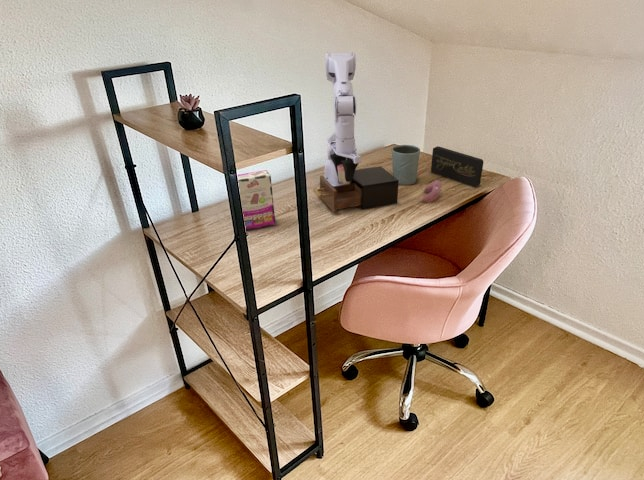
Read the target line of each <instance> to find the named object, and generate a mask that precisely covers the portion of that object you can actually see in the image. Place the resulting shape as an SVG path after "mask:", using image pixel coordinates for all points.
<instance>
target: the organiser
mask: <svg viewBox="0 0 644 480" xmlns="http://www.w3.org/2000/svg"><path fill="white" fill-rule="evenodd" d="M398 182H399V180H398V179H396V178H395V177H394V176H393V174H392V173H390V172H389V171H388V170H386V169H385V168H384V167H382V166H380V165H379V166H373V167H372V166H371V167H366V168H358V169H355V172H354V176H353V179H352V181H351V183H350V184H352V183H356V184H357V185H358V186H359V187H360V188H361V189H362V204H361V205H359V206H358V208H360V209H361V210H368V209H374V208H380V207H386V206H391V205H397V204H398V199H399V198H398V197H399V184H398Z"/></svg>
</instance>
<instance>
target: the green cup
mask: <svg viewBox="0 0 644 480" xmlns="http://www.w3.org/2000/svg"><path fill="white" fill-rule="evenodd" d="M420 154H421V148H420V147H418V146H416V145H412V144H399V145H395V146H393V147H392V148H391V159H392V160H391V161H392V163H391V164H392V175H393V176H394V177H395V178H396V179H398V180H399V182H398V185H400V186H409V185H414V184H415V183H416V182H417V177H418V170H419V160H420Z"/></svg>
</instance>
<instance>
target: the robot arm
mask: <svg viewBox="0 0 644 480" xmlns="http://www.w3.org/2000/svg"><path fill="white" fill-rule="evenodd" d="M324 59H325V64H324V65H325V77H326V80H327V81H329V82H331V84H332V87H333V114H334V115H333V116H334V132H333V133H331V134H330V135H328V137H327V143H326V147H327V148H326V149H327V150H326V151H327V159H326V160H325V163H324V178H325V179H326V180H327V181H328V182H329V183H330V184H331V185H332V186H339V185H346V184H340V183H338V169H337V166H338V165H340V164H343V167H344V171H345V180H346V181H347V182H348V181H352V179H353V176H354V172H355V170H357V167H358V165H359V164H361V162H362V161H361V160H362V158H361V157H362V156H361V155H359V154H358V153H357V146H356V138H355V116H356V114H357V99H356V95H355V93H354V88H353V83H352V82H351V81H353V80H354V77H355V73H356V68H357V67H356V65H357V63H356V62H357V58H356V53H355V52H354V51H352V52H326V53H325V57H324Z"/></svg>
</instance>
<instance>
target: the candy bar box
mask: <svg viewBox="0 0 644 480" xmlns="http://www.w3.org/2000/svg"><path fill="white" fill-rule="evenodd" d="M237 175H238V183H239V189H240V197H241V202H242V208H243V214H244V222H245V226H246V231H250V230H256V229H262V228H265V227H270V226H271V227H272V226H275V225H276V217H275V205H274V196H273V195H274V194H273V185H272V175H271V174H270V173H269V172H268V170H267V169H265V170H258V171H251V172H245V173H239V174H237Z"/></svg>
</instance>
